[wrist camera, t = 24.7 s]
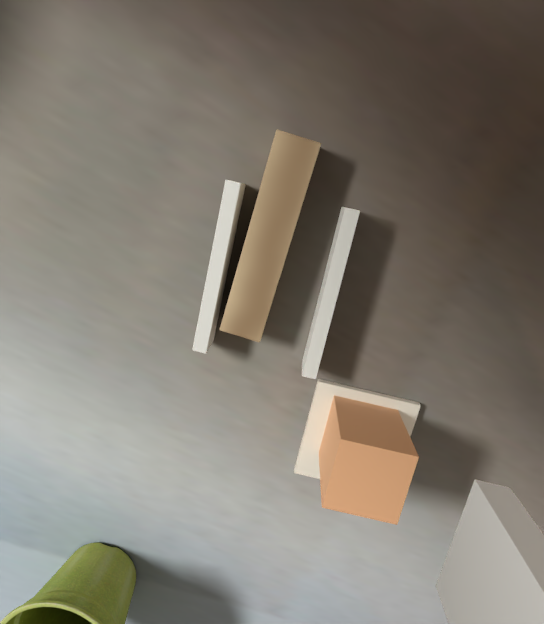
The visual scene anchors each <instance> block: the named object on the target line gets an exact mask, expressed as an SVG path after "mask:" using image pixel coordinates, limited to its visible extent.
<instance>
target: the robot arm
mask: <svg viewBox="0 0 544 624" xmlns="http://www.w3.org/2000/svg"><path fill="white" fill-rule="evenodd" d="M436 588H437V591H438V594H439V597H440V600H441V603H442V606H443V608H444V611H445V614H446V617H447V620H448V623H449V624H544V534H543V533H542V531H541V530H540V529H539V527H538V526H537V524H536V523H535V522H534V520H533V519H532V517H531V516H530V515H529V513H528V512H527V510H526V509H525V508H524V506H523V505H522V503H521V502H520V501H519V499H518V498H517V496H516V495H515V494H514V492H513V491H512V489H511V488H510V487H505V486H501V485H497V484H493V483H488V482H484V481H480V480H476V479H475V480H474V483H473V485H472V488H471V491H470V494H469V496H468V499H467V502H466V504H465V507H464V510H463V513H462V515H461V518H460V521H459V523H458V526H457V529H456V532H455V534H454V537H453V540H452V542H451V545H450V548H449V551H448V553H447V556H446V559H445V561H444V564H443V567H442V570H441V572H440V575H439V578H438V580H437V583H436Z"/></svg>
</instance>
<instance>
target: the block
mask: <svg viewBox="0 0 544 624" xmlns="http://www.w3.org/2000/svg"><path fill="white" fill-rule="evenodd" d="M418 459H419V456H418V454H417V451H416V449H415V447H414V445H413V443H412V440H411V438H410V436H409V434H408V431H407V429H406V427H405V425H404V422H403V420H402V418H401V416H400V413H399V411H398V410H396V409H392V408H387V407H383V406H379V405H374V404H370V403H366V402H361V401H357V400H352V399H348V398H344V397H339V396H335V395H334V397H333V401H332V405H331V408H330V412H329V416H328V420H327V423H326V427H325V431H324V435H323V438H322V442H321V446H320V450H319V467H320V484H321V500H322V507H323V508H327V509H331V510H335V511H340V512H344V513H348V514H353V515H357V516H361V517H366V518H370V519H374V520H379V521H383V522H387V523H392V524H396V525H397V524H398V521H399V517H400V514H401V511H402V508H403V505H404V502H405V499H406V496H407V493H408V490H409V486H410V483H411V480H412V477H413V474H414V471H415V468H416V465H417V462H418Z"/></svg>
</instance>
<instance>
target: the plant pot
mask: <svg viewBox="0 0 544 624" xmlns="http://www.w3.org/2000/svg"><path fill="white" fill-rule="evenodd" d="M135 583H136V570H135V567H134V564H133V562H132V560H131V559H130V558H129V557H128V555H127V554H126V553H124V552H123V551H122V550H120V549H119V548H117V547H109V546H106V545H104V544H102V543H90V544H87V545H84V546H82V547H81V548H79V549H78V550H77V551H75V553H74V554H73V555H72V556H71V557H70V558H69V559H68V560H67V561H66V562H65V563H64V565H63V566H62V567H61V568H60V569H59V570H58V571H57V572H56V574H55V575H54V576H53V577H52V578H51V579H50V580H49V581H48V582H47V583H46V584H45V586H44V587H43V588H42V589H41V590H40V591H39V592H38V593H37V594H36V595H35V596H34V597H33V598H32V599H30V600H29V601H27V602H26V603H25V604H23V605H21V606H19V607H18V608H16V609H14V610H13V611H12V612H10V613H9V614H8V615H7V616H6V617H5V618H4V619H3V620H2V621H1V622H0V624H125V621H126V617H127V613H128V609H129V605H130V602H131V598H132V595H133V591H134V587H135Z"/></svg>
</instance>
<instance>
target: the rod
mask: <svg viewBox="0 0 544 624" xmlns="http://www.w3.org/2000/svg"><path fill="white" fill-rule="evenodd" d="M320 146H321V143H319V142H315V141H312V140H309V139H306V138H303V137H299V136H296V135H293V134H290V133H287V132H283V131H280V130H276V133H275V137H274V140H273V144H272V147H271V151H270V154H269V158H268V161H267V165H266V168H265V172H264V175H263V179H262V182H261V186H260V189H259V193H258V196H257V200H256V203H255V207H254V210H253V214H252V217H251V221H250V224H249V228H248V231H247V235H246V238H245V242H244V245H243V249H242V252H241V256H240V259H239V263H238V266H237V270H236V273H235V277H234V280H233V284H232V287H231V291H230V294H229V298H228V301H227V305H226V308H225V312H224V315H223V319H222V322H221V326H220V329H219V330H221V331H224V332H227V333H230V334H234V335H237V336H240V337H244V338H247V339H250V340H253V341H257V342H260V340H261V337H262V334H263V330H264V327H265V324H266V321H267V317H268V314H269V311H270V308H271V305H272V301H273V298H274V295H275V292H276V288H277V285H278V282H279V279H280V275H281V272H282V269H283V266H284V262H285V259H286V256H287V253H288V249H289V246H290V243H291V240H292V237H293V233H294V230H295V227H296V224H297V220H298V217H299V214H300V211H301V207H302V204H303V201H304V198H305V194H306V191H307V188H308V185H309V181H310V178H311V175H312V172H313V169H314V165H315V162H316V159H317V156H318V152H319V149H320Z"/></svg>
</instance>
